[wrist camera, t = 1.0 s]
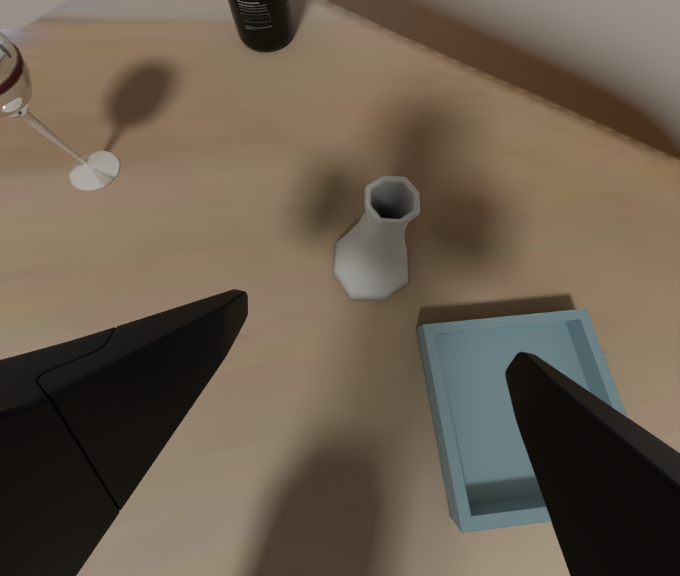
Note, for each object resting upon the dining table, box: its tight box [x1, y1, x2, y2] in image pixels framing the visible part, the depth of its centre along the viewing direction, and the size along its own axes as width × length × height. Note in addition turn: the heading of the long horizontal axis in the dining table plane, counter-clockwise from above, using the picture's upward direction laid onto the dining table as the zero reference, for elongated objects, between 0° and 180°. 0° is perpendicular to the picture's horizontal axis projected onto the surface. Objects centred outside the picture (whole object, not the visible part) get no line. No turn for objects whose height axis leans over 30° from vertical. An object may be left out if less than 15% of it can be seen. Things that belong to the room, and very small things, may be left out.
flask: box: [333, 176, 420, 300], centre depth 19 cm, size 7×7×10 cm
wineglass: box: [0, 31, 120, 191], centre depth 21 cm, size 7×7×12 cm
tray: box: [416, 309, 627, 533], centre depth 20 cm, size 14×14×2 cm
